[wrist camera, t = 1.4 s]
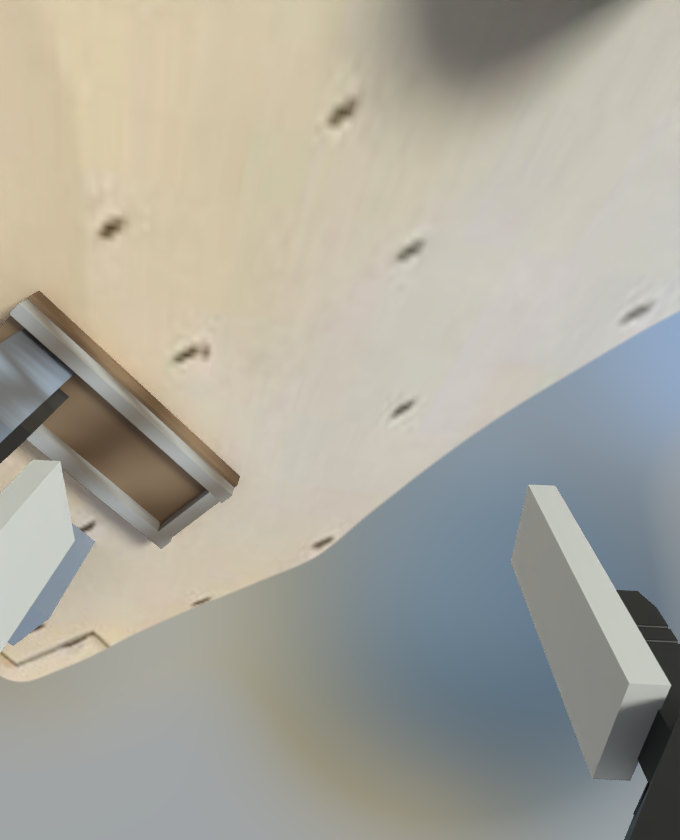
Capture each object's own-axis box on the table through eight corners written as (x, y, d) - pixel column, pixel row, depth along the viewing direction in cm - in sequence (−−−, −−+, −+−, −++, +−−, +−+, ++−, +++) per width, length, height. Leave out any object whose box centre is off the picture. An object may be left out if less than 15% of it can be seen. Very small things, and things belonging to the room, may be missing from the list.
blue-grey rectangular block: (15, 541, 46) (-45, 617, 39) (53, 509, 45) (-2, 582, 38) (57, 571, 48) (6, 650, 41) (95, 541, 46) (48, 618, 39)
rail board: (-34, 366, 40) (-133, 430, 31) (39, 290, 37) (-48, 338, 29) (166, 532, 46) (126, 622, 38) (239, 476, 43) (214, 559, 35)
